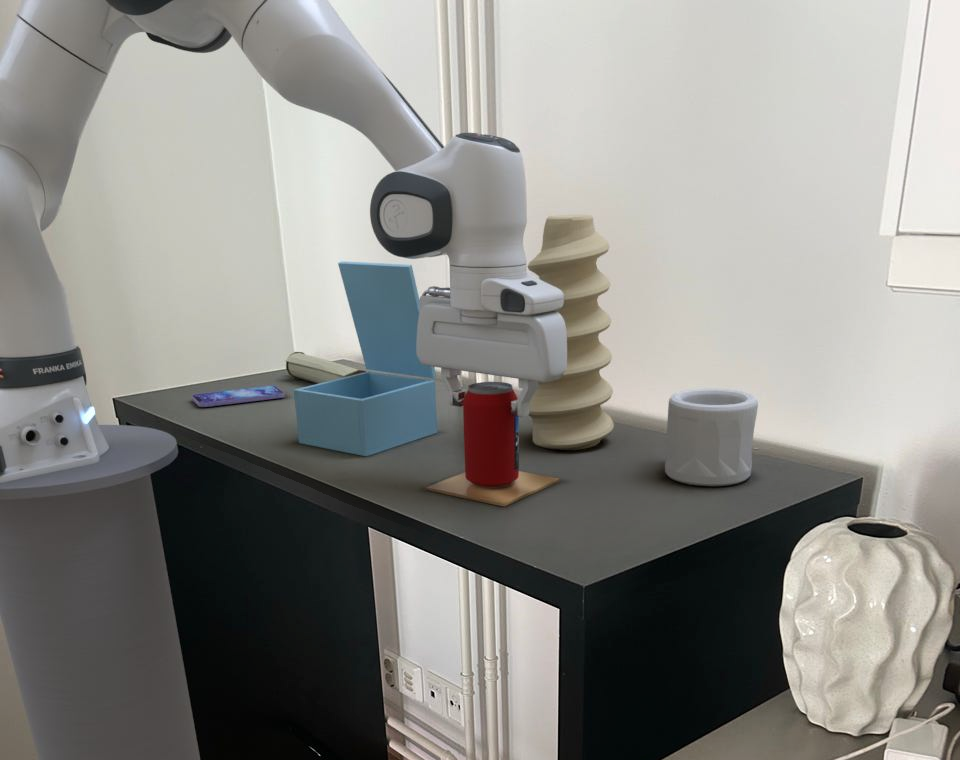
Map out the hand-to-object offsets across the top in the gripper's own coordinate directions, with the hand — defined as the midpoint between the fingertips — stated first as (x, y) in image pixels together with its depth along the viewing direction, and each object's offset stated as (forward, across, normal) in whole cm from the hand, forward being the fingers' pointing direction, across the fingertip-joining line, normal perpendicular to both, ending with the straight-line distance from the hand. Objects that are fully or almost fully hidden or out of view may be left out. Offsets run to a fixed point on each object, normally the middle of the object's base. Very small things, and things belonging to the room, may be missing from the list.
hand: (488, 410), depth 120 cm
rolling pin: (+10, -61, +31) cm, 69 cm away
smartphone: (+10, -68, +16) cm, 70 cm away
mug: (+9, +19, +20) cm, 29 cm away
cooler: (+10, -30, +9) cm, 33 cm away
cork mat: (+10, 0, 0) cm, 10 cm away
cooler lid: (-6, -30, +15) cm, 34 cm away
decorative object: (+10, -4, +24) cm, 26 cm away
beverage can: (+9, 0, 0) cm, 9 cm away
